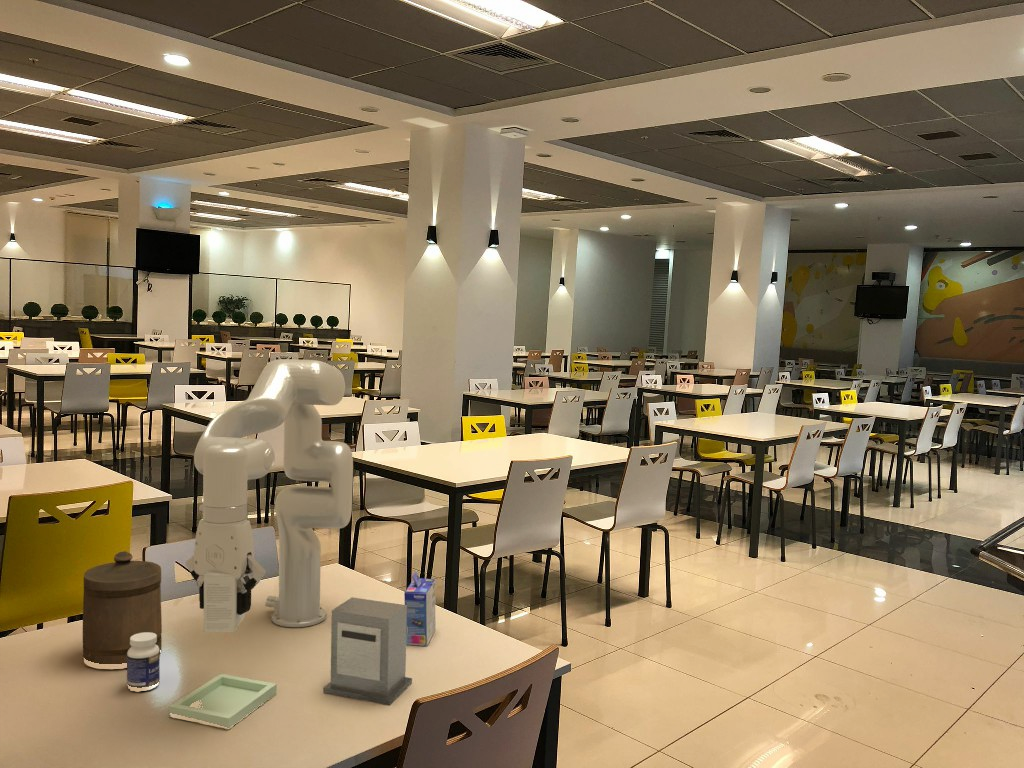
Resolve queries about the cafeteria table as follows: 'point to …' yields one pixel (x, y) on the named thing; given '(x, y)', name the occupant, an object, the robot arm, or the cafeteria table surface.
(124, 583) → the wooden container
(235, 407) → the robot arm
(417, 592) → the ink cartridge box
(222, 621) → the small box
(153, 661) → the pill bottle
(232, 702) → the tray
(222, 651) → the cafeteria table surface
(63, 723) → the cafeteria table surface
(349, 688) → the dispenser unit
